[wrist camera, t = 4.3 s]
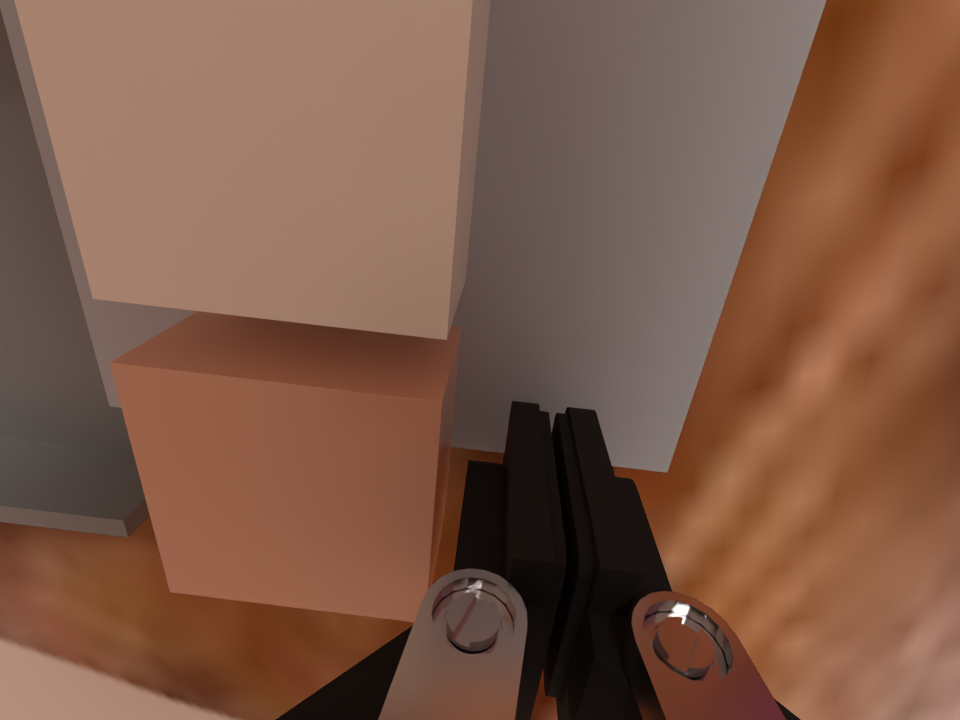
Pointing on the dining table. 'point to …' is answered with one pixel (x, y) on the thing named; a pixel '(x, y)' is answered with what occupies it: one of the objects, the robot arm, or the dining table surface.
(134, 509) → the tray
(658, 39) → the slate board
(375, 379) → the salmon square block
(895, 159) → the dining table surface
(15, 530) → the dining table surface
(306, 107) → the beige square block
